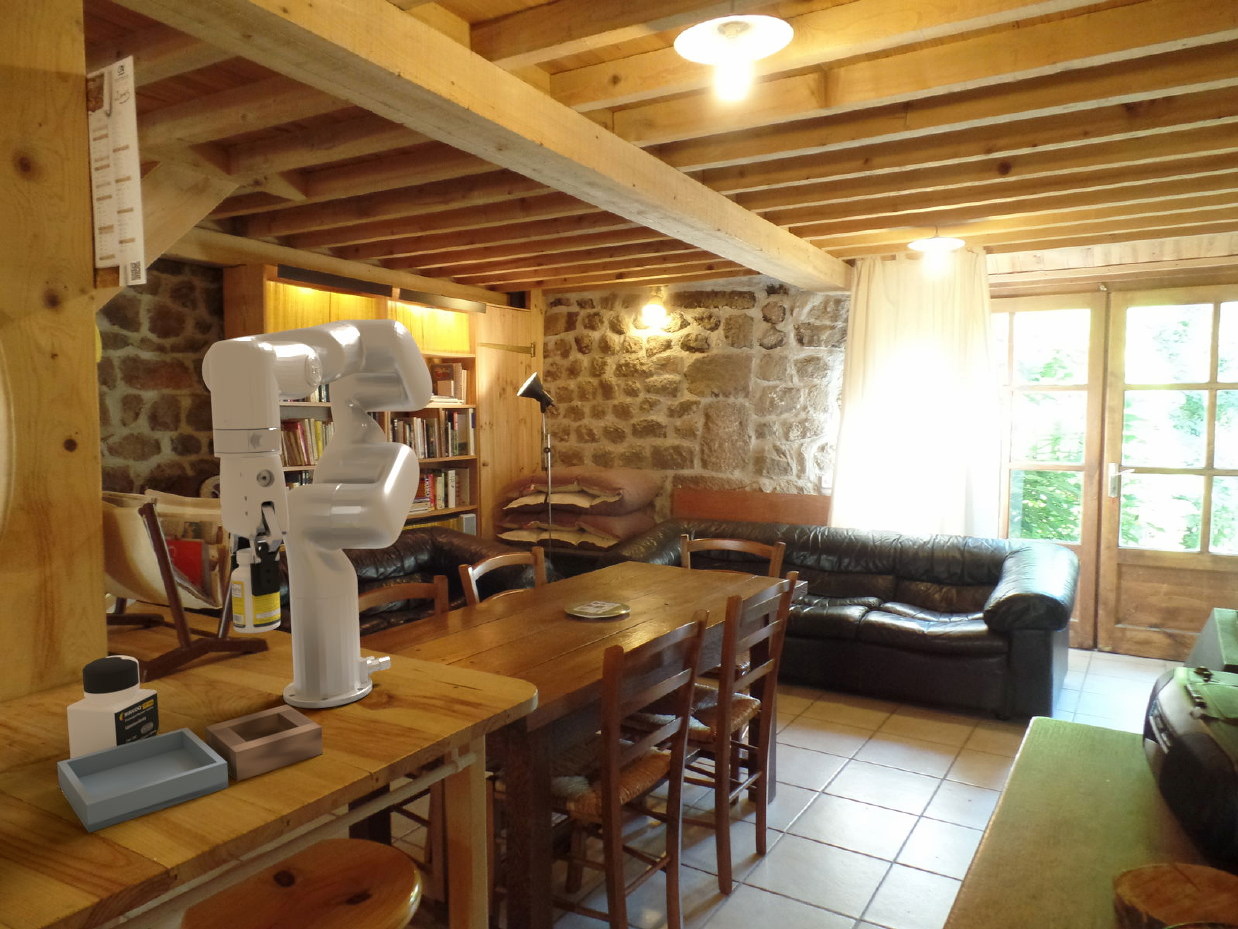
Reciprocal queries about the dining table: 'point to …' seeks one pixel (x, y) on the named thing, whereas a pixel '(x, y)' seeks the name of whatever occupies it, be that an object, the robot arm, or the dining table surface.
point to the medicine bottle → (111, 707)
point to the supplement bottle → (251, 600)
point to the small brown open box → (264, 741)
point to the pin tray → (140, 777)
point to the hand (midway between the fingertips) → (255, 588)
